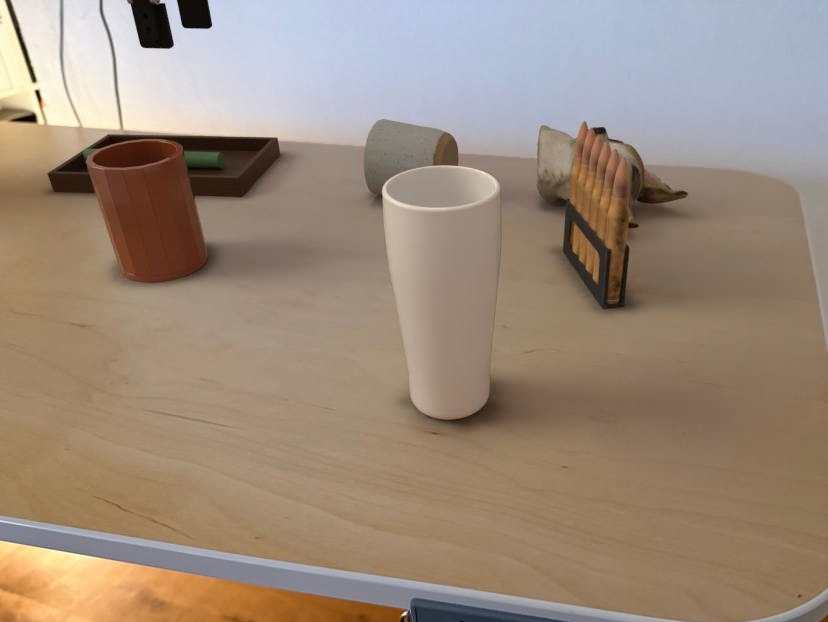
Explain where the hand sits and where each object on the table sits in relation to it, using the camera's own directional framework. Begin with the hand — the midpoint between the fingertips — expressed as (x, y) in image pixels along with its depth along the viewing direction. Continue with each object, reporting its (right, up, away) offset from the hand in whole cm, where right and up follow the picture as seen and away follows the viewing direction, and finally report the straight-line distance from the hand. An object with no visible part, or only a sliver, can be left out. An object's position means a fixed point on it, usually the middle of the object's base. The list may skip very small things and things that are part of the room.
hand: (178, 37), depth 77 cm
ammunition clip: (+41, -26, -13) cm, 50 cm away
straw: (+2, -12, +8) cm, 15 cm away
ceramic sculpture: (+43, -18, -2) cm, 47 cm away
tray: (-4, -12, +9) cm, 15 cm away
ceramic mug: (+24, -15, +3) cm, 29 cm away
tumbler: (+3, -25, -10) cm, 27 cm away
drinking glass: (+29, -36, -27) cm, 54 cm away
